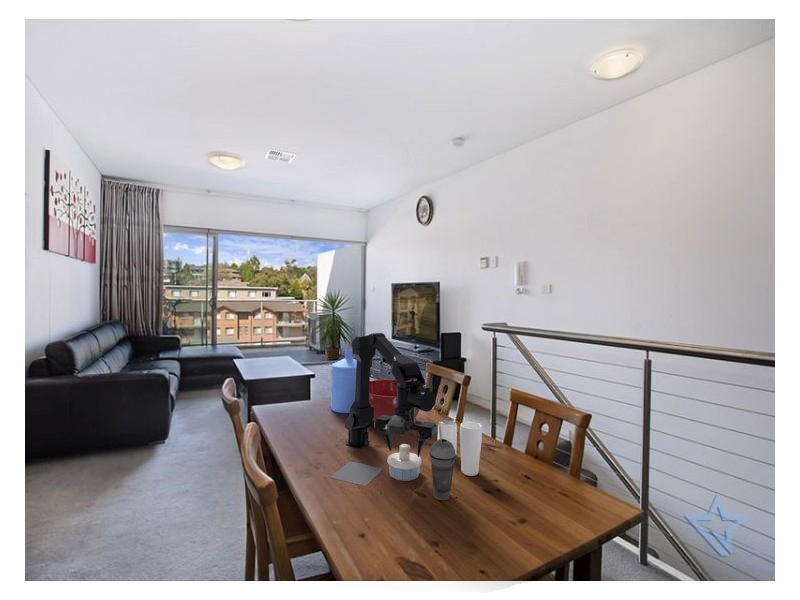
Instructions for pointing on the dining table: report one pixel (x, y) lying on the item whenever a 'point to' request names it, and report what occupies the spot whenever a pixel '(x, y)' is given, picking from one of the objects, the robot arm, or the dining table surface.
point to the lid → (404, 459)
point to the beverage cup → (442, 467)
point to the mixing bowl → (384, 397)
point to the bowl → (404, 473)
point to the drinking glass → (470, 447)
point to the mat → (357, 473)
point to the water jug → (343, 383)
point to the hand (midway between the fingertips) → (404, 453)
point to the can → (448, 431)
